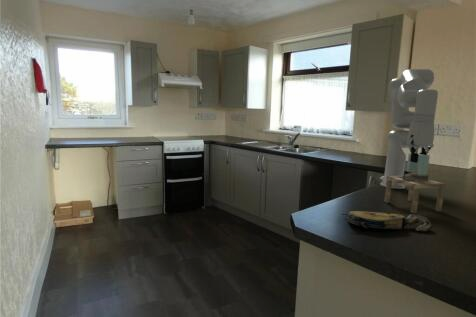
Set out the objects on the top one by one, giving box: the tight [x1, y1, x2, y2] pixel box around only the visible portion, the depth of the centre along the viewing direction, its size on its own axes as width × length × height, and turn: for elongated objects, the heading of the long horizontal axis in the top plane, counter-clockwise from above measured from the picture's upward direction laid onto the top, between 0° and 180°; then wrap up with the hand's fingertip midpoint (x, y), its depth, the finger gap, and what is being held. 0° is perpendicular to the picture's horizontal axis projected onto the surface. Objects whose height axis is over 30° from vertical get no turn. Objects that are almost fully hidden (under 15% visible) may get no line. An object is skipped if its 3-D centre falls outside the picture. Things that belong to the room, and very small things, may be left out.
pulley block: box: [340, 210, 433, 232], centre depth 106 cm, size 14×6×30 cm
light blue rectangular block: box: [406, 152, 431, 175], centre depth 129 cm, size 7×4×8 cm, turn 17°
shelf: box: [383, 174, 446, 214], centre depth 131 cm, size 16×15×14 cm
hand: (417, 161), depth 129 cm, fingers closed on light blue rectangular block, 4 cm apart
